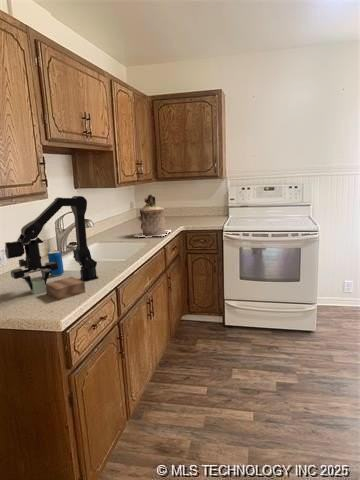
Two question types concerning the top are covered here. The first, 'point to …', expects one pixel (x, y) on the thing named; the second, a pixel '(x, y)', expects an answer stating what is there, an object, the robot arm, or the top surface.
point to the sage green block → (38, 286)
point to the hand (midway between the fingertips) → (37, 288)
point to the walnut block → (65, 288)
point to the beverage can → (57, 258)
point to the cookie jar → (152, 219)
